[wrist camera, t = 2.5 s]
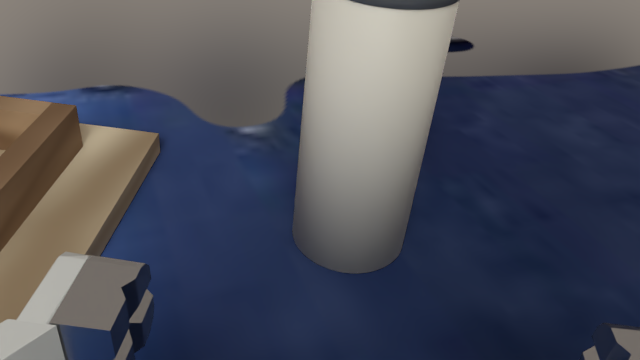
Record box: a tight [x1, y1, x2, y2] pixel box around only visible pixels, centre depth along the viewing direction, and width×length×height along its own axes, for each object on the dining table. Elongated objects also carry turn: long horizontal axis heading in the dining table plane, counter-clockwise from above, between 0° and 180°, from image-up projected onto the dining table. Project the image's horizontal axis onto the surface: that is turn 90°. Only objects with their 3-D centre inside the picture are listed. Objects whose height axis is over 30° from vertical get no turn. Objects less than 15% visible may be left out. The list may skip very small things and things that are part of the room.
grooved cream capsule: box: [292, 0, 460, 273], centre depth 20 cm, size 5×5×13 cm
